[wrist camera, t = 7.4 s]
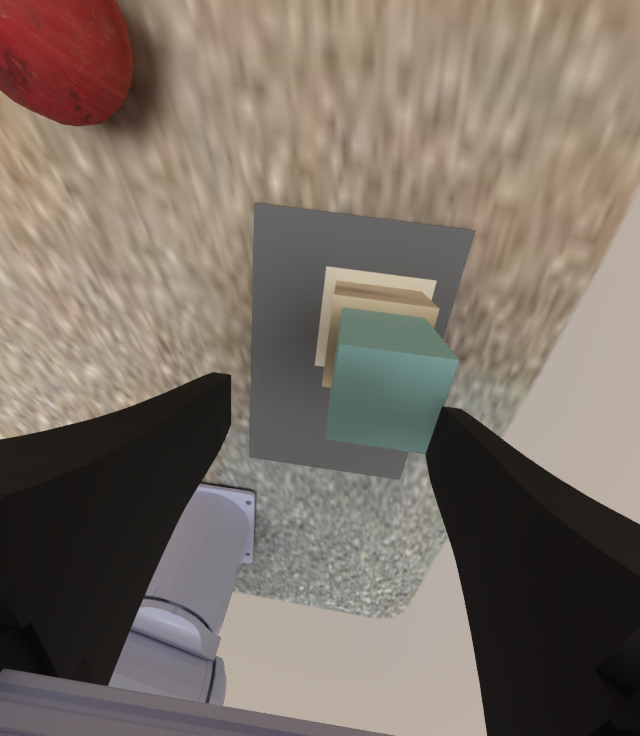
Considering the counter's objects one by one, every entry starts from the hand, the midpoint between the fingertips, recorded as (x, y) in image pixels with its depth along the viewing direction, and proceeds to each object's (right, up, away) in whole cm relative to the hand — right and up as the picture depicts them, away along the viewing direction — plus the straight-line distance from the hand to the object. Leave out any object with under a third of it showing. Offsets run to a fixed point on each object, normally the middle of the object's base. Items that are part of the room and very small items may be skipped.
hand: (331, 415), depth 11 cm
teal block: (+2, +3, +5) cm, 6 cm away
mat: (+1, +2, +10) cm, 11 cm away
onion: (-11, +16, +5) cm, 20 cm away
